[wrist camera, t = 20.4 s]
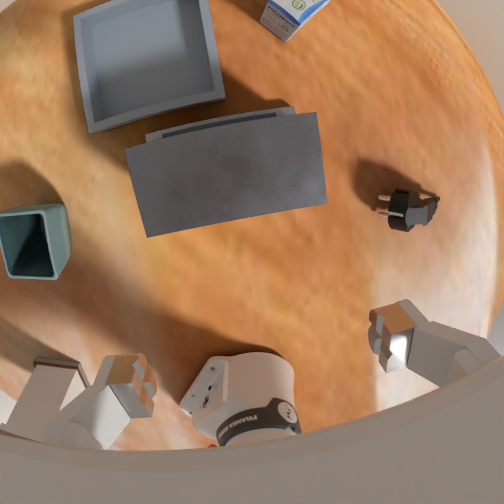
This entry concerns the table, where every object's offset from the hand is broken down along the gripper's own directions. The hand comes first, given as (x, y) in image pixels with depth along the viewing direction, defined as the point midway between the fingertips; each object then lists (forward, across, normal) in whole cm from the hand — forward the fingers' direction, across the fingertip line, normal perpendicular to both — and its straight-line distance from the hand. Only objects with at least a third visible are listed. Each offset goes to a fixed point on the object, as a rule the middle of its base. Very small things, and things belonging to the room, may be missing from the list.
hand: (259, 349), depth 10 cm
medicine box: (+31, -11, -21) cm, 39 cm away
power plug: (+33, -29, +6) cm, 44 cm away
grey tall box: (+31, +40, +30) cm, 59 cm away
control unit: (+31, 0, -4) cm, 31 cm away
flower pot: (+31, +26, 0) cm, 41 cm away
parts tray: (+31, +7, -18) cm, 36 cm away
